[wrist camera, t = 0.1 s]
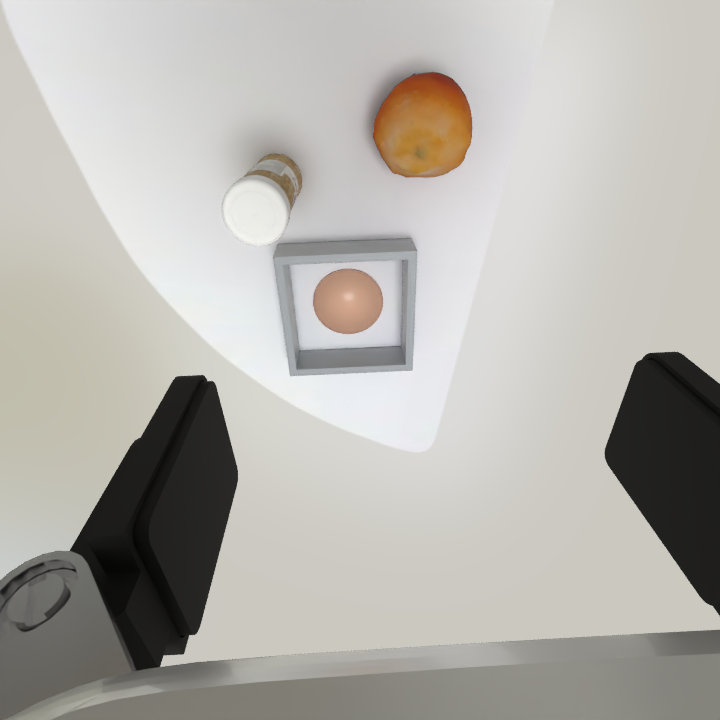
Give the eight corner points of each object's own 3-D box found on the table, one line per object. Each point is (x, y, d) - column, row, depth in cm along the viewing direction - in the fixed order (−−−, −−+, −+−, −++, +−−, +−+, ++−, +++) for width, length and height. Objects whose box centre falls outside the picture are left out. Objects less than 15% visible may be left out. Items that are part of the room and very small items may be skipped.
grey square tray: (278, 243, 45) (273, 257, 41) (411, 238, 45) (417, 251, 41) (293, 356, 52) (290, 376, 49) (407, 351, 52) (412, 370, 49)
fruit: (492, 68, 36) (493, 129, 32) (447, 148, 43) (443, 206, 39) (402, 28, 34) (391, 87, 31) (370, 117, 41) (358, 175, 37)
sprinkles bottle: (300, 207, 43) (285, 252, 31) (252, 199, 42) (220, 242, 31) (304, 156, 40) (290, 186, 29) (254, 147, 40) (220, 174, 28)
